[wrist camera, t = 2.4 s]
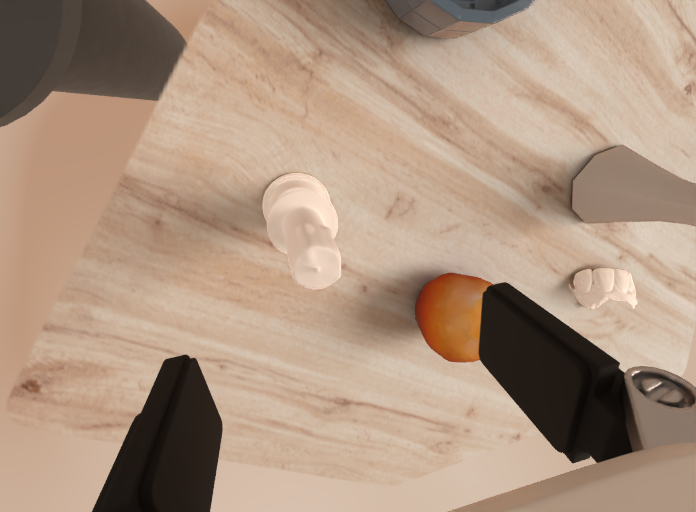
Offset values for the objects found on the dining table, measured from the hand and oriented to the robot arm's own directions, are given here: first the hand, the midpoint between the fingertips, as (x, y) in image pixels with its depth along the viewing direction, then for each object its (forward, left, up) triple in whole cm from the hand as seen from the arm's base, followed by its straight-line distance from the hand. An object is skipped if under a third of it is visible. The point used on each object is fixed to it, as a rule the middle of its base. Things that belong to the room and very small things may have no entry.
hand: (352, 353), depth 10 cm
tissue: (+35, +3, -17) cm, 39 cm away
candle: (0, 0, -17) cm, 17 cm away
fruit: (+17, -4, -17) cm, 24 cm away
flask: (+27, +12, -17) cm, 34 cm away
